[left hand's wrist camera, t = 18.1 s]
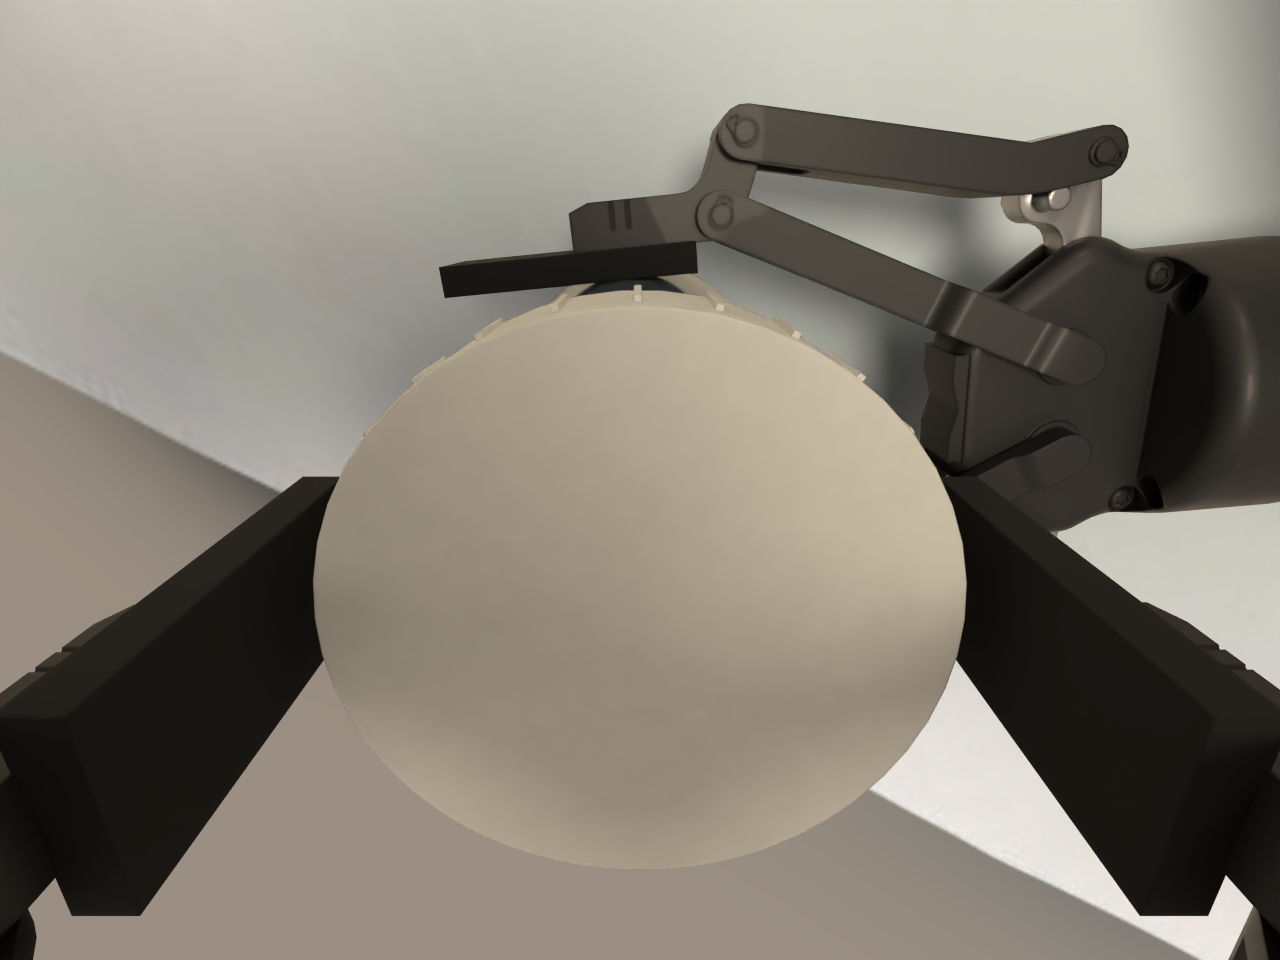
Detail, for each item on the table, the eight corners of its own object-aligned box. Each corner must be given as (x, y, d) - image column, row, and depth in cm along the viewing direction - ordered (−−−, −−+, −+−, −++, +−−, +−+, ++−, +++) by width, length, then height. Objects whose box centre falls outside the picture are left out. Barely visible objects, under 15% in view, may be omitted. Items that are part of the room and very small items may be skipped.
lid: (783, 830, 14) (806, 925, 12) (320, 708, 13) (265, 793, 11) (1023, 404, 11) (1105, 443, 9) (430, 191, 10) (378, 184, 8)
